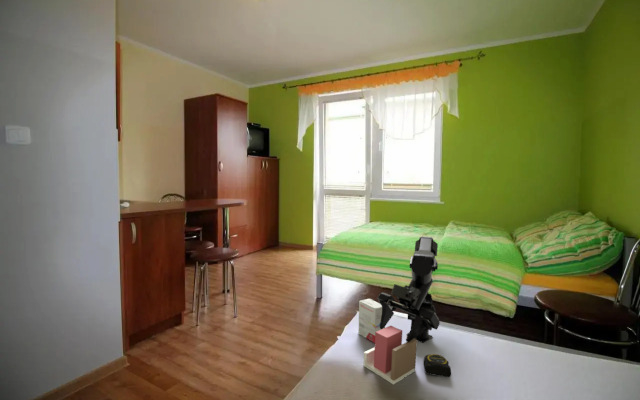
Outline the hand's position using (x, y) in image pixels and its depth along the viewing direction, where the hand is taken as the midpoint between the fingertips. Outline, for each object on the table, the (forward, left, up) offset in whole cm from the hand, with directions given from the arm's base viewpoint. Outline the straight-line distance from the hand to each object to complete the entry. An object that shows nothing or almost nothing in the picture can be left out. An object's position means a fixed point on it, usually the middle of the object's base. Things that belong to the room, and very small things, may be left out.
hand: (393, 334), depth 89 cm
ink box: (-9, -15, -10) cm, 20 cm away
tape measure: (-8, +10, -10) cm, 16 cm away
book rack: (+1, 0, -9) cm, 9 cm away
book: (+2, 0, -8) cm, 9 cm away
